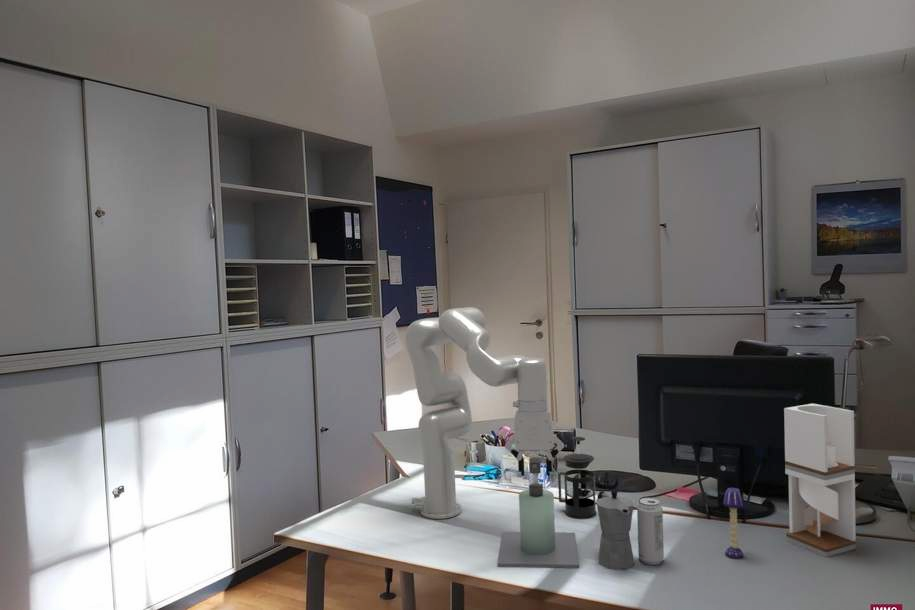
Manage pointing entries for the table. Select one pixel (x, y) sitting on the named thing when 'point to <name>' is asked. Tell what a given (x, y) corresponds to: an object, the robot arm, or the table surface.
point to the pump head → (535, 467)
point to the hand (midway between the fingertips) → (535, 473)
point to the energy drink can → (650, 531)
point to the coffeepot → (615, 531)
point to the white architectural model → (820, 478)
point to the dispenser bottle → (537, 535)
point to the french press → (578, 486)
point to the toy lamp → (733, 520)
